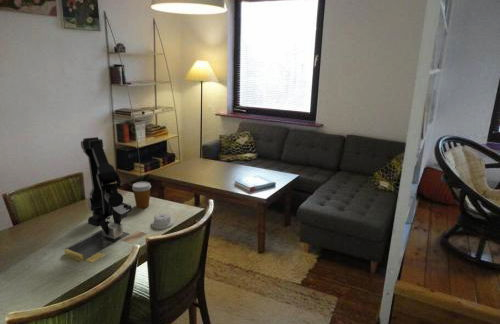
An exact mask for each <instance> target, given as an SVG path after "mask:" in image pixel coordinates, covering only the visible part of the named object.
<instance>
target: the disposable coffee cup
mask: <svg viewBox="0 0 500 324" xmlns="http://www.w3.org/2000/svg"><path fill="white" fill-rule="evenodd" d="M151 188H152V185H151V182H148V181H137V182H135V183H133V184H132V187H131V189H132V191H133V196H134V201H135V205H136V208H138V209H146V208H148V207H149V206H150V198H151Z"/></svg>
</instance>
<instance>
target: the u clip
mask: <svg viewBox="0 0 500 324" xmlns="http://www.w3.org/2000/svg"><path fill="white" fill-rule="evenodd" d="M109 222H110V223H109V224H108V227H109V235H106V233H105V232H104V230H103V229H102V228H101V230H102V235H104V236H107V237H110V238H113V239H115V238H117V237H119V236H120V235H122V234H123V232H124V227H123V224H122V223H120V224H119V223H116V222H114V221H111V220H110V221H109Z"/></svg>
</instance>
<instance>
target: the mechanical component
mask: <svg viewBox="0 0 500 324" xmlns="http://www.w3.org/2000/svg"><path fill="white" fill-rule="evenodd" d="M173 225H174V219H173V218H171V215H170V214H168V213H165V212H164V213H163V212H162V213H158V214H155V215H154V216H153V220H152V221H151V227H152V228H154V229H158V230H163V229H169V228H171V227H173Z"/></svg>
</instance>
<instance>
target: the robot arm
mask: <svg viewBox="0 0 500 324" xmlns="http://www.w3.org/2000/svg"><path fill="white" fill-rule="evenodd" d="M80 147H81V149H82V152H83V153H84V154H85V155H86V157H87V160H88V166H89V172H90V178H91V179H90V180H91V187H92V188H91V190H90V192H89V199H88V202H87V205H88V209H89V211H92V216H89V217H88V219H87V223H88V225H91V226H94V227H98V228H99V227H101V230H102V229H103V230H104V232H105V233H106V235H109V227H108V226H109V223H110V221H109V220H110V219H111V217H112V219H113V222H116V223H119V224H122V220H123V219H124V218H127V217H128V215H129V213H131V211H133V208H132V206H131V204H129V203H126V202H124V196H123V195H122V193H120V192H119V191H118V188H121V187H122V185H121V184H122V181H121V177H120V174H119V173H118V171H117V170H116V168H115V167H114V166H113V165H112V164H110V163H109V160H108V158H107V156H106V152H105V149H104V141H103V139H102V138H101V139H99V137H98V136H96V137H87V138H83V139H82V140H81V141H80Z"/></svg>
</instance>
